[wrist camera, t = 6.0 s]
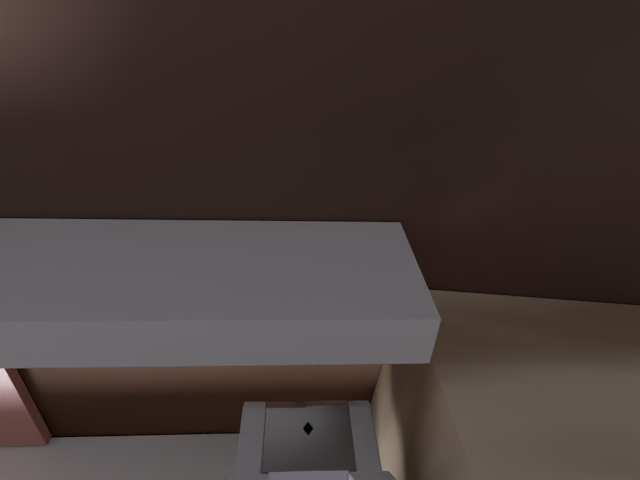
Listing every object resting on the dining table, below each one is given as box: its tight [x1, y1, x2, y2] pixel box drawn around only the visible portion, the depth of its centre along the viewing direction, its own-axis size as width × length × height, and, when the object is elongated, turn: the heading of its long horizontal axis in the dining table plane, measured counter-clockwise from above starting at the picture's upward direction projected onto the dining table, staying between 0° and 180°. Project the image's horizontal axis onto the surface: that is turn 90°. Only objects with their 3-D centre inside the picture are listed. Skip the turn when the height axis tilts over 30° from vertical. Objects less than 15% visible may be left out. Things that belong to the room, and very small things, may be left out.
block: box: [370, 290, 640, 480], centre depth 10 cm, size 5×7×4 cm
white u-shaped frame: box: [0, 218, 441, 480], centre depth 9 cm, size 9×16×3 cm, turn 88°
